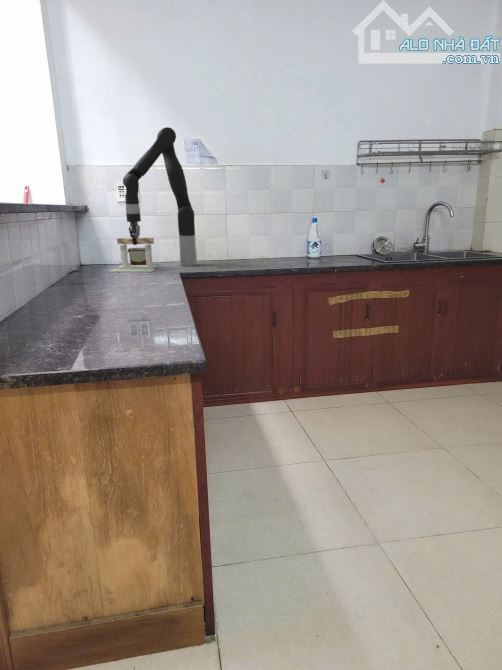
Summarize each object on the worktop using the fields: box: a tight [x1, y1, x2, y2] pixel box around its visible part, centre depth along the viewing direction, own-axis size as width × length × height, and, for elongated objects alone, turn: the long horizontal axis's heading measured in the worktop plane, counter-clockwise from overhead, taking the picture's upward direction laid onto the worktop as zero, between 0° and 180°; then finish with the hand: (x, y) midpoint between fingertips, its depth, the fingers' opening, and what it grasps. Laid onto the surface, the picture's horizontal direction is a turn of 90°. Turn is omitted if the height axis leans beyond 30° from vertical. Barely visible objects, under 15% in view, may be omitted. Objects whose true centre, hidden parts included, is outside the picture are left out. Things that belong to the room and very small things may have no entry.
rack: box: [117, 244, 157, 269], centre depth 266 cm, size 20×7×13 cm, turn 87°
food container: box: [127, 247, 146, 265], centre depth 278 cm, size 12×6×10 cm, turn 84°
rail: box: [116, 237, 155, 245], centre depth 264 cm, size 20×3×3 cm, turn 87°
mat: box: [107, 268, 156, 273], centre depth 259 cm, size 24×8×1 cm, turn 87°
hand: (135, 244), depth 264 cm, fingers closed on rail, 3 cm apart
